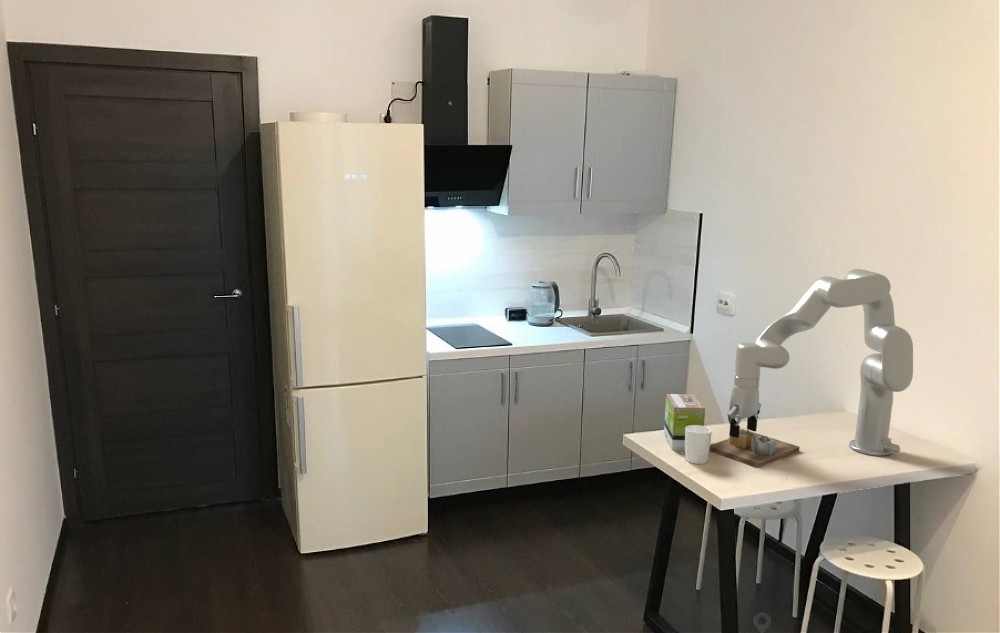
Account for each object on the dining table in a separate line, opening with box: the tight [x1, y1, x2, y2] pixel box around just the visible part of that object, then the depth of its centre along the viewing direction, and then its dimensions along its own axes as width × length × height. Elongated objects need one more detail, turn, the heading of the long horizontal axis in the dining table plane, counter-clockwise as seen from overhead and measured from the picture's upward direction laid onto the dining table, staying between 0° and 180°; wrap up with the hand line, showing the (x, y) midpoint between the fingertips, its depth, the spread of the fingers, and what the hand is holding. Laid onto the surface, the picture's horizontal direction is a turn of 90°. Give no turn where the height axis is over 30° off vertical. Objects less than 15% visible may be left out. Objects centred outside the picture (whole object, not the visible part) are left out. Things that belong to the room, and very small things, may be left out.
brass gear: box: [728, 429, 755, 448], centre depth 242 cm, size 7×7×4 cm
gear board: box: [709, 428, 800, 469], centre depth 240 cm, size 18×24×6 cm
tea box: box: [663, 393, 706, 452], centre depth 245 cm, size 15×10×15 cm, turn 178°
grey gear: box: [751, 435, 777, 456], centre depth 236 cm, size 7×7×4 cm
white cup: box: [684, 425, 713, 465], centre depth 231 cm, size 8×8×10 cm
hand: (742, 433), depth 242 cm, fingers open, 9 cm apart
